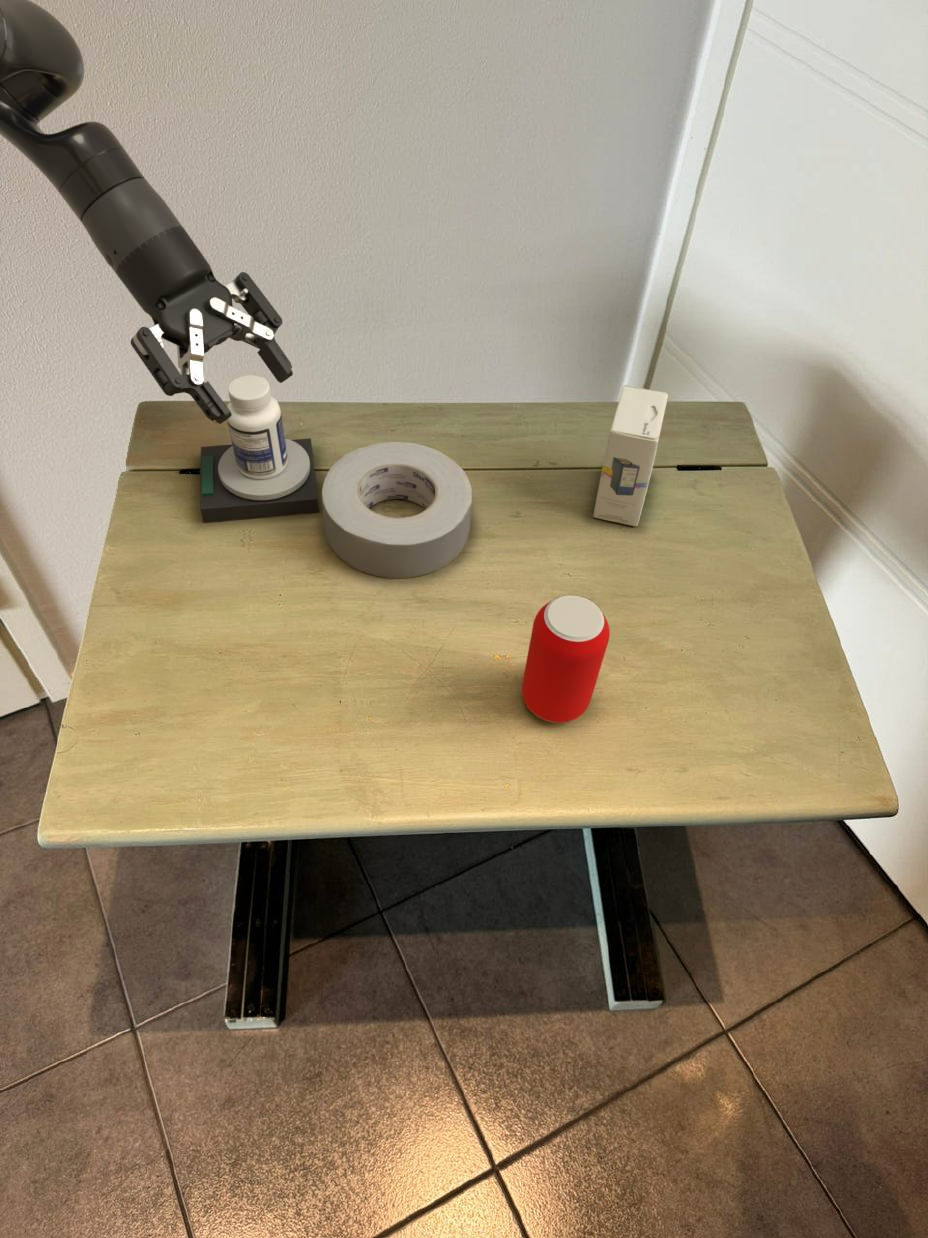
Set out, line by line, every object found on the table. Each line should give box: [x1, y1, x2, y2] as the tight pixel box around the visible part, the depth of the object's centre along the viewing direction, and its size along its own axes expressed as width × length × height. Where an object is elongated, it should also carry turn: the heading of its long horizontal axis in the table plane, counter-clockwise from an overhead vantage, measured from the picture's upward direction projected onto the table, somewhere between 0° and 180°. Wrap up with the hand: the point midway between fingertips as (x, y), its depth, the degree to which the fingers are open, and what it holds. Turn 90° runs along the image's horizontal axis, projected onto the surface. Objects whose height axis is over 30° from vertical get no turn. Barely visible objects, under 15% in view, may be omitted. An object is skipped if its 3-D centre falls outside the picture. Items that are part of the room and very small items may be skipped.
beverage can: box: [521, 594, 611, 723], centre depth 71 cm, size 6×6×12 cm
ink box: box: [593, 384, 669, 527], centre depth 88 cm, size 9×5×12 cm, turn 164°
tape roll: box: [321, 441, 473, 579], centre depth 86 cm, size 15×15×5 cm
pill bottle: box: [226, 374, 288, 479], centre depth 85 cm, size 5×5×10 cm
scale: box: [199, 437, 320, 524], centre depth 90 cm, size 12×10×3 cm
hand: (257, 398), depth 82 cm, fingers open, 8 cm apart
